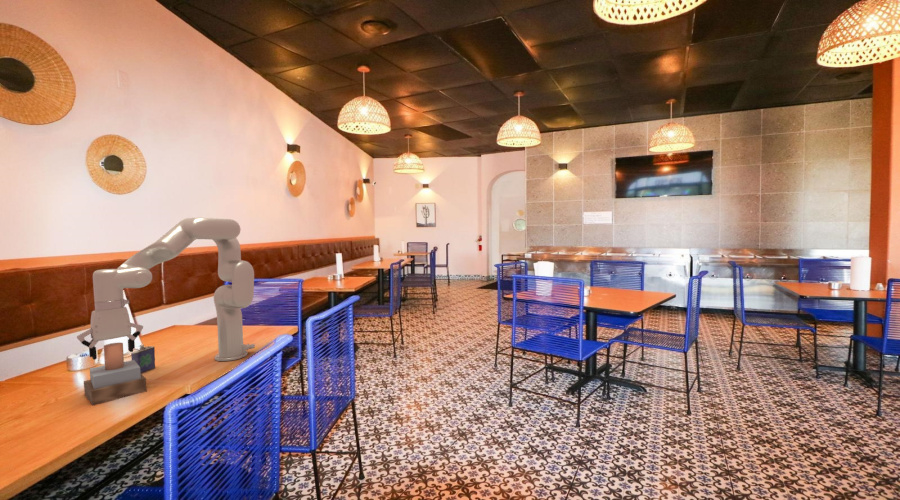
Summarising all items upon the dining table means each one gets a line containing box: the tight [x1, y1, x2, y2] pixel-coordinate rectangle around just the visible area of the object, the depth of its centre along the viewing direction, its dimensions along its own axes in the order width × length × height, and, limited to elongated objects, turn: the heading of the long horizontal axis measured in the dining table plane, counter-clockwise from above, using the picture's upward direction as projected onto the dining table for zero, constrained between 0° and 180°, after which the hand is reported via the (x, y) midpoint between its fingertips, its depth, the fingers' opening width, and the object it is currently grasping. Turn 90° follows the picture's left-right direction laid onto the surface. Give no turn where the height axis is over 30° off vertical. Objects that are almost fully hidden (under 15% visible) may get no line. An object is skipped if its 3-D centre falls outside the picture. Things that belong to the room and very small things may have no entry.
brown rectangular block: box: [103, 342, 125, 370], centre depth 135 cm, size 5×5×8 cm
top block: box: [89, 359, 142, 389], centre depth 135 cm, size 12×12×4 cm
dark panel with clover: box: [130, 344, 156, 375], centre depth 155 cm, size 9×3×11 cm, turn 172°
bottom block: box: [83, 374, 147, 406], centre depth 135 cm, size 14×14×5 cm
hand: (113, 354), depth 135 cm, fingers open, 9 cm apart
